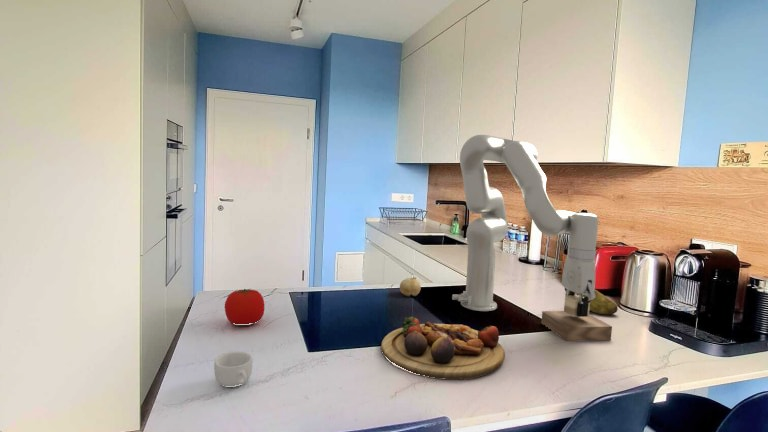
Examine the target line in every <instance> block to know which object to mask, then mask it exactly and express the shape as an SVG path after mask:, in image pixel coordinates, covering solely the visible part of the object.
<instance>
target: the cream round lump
mask: <svg viewBox="0 0 768 432" xmlns="http://www.w3.org/2000/svg"><path fill="white" fill-rule="evenodd" d="M421 287H422V286H421V284H420V282H419V280H417V277H416V276H415V277H414V276H412V277H410V278H409V277H408V278H405V279H403V280H402V281H401V282H400V284H399V291H400V293H401V295H403V296H406V297H411V296H413V297H416V296H418V294H420V291H421V289H422V288H421Z"/></svg>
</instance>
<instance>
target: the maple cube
mask: <svg viewBox="0 0 768 432" xmlns="http://www.w3.org/2000/svg"><path fill="white" fill-rule="evenodd" d="M583 298H584V297H583ZM578 303H579V295H572V296H565V295H564V304H563V305H564V306H563V311H564V312H566V313H568V314H569V315H571V316H573V317H578V316H577V305H578ZM589 309H590V304H588V315H587V316H585V317H589V314H590V310H589Z"/></svg>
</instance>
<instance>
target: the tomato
mask: <svg viewBox="0 0 768 432" xmlns="http://www.w3.org/2000/svg"><path fill="white" fill-rule="evenodd" d="M224 301H225V302H224V313H225V317H226V318H227V319H226V320H228V321H230V322H231V323H230V322H229V323H230V324H232V323H235V324H249V323H255V322H257V321H258V322H260V321H261V320H260V319H262V318H263V316H264V314H265V300H264V298H263V294H262V293H261V292H259V291H258V290H255V289H251V288H248V289H246V288H244V289H237V290H234V291H232V292H231V293H230V294H229V295H228V296H227V298H226V300H224ZM259 320H260V321H259ZM258 322H257V323H258ZM255 324H256V323H255Z"/></svg>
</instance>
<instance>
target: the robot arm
mask: <svg viewBox="0 0 768 432" xmlns="http://www.w3.org/2000/svg"><path fill="white" fill-rule="evenodd" d="M537 159H538V151H537V149H536V147H535V146H534V145H533V144H531V143H529V142H525V141H520V140H513V139H508V138H504V137H503V138H502V137H498V136H492V135H489V134H477V135H473V136H471V137H469V138H468V139H467V140H466V141H465V143H464V144H463V145H462V147H461V149H460V153H459V163H460V164H459V165H460V170H461V174H462V175H461V176H462V181H463V182H462V183H463V189H464V196H465V203H466V208H467V209H468V210H469V212H471V213H472V214H475V215H477V214H479V215H481V217H477V218H475V219H474V220H472V221H471V222H470V223H469V224H468V226H467V229H466V243H467V260H466V261H467V266H466V281H465V282H466V284H465V290H463V291H462V293H460V294H452V296H451V299H452V300H453V301H458V302H460V305H461V306H462V307H464V308H466V309H468V310H471V311H479V312H489V311H490V312H491V311H495V310H496V309H498V304H497V302H496V301H494V287H495V271H496V251H495V243H498V242H501V241H503V240H504V239H505V238H506V236H507V234H508V230H509V227H508V225H509V224H508V219H507V213H506V212H507V211H506V206H505V199H504V197H503V195H502V193H501V191H500V190H499V189H497V188H495V187H493V186H490V183H489V178H488V172H487V169H486V167H485V165H484V161H491V162H497V163H502V164H505V166H506V167H507V169H508V171H509V172H510V173H511V176H512V177H513V179H514V180H515V181H516V184H517V185H518V187H519V189H520V190H521V195H522V199H523V203H524V207H525V208H526V211H527V212H528V213H527V214H528V216H529V217H530V218H531V220H532V221H533V223H534V225H535V226H536V228H537V229H538V230H539V231H540V232H541V234H543V235H545V236H549V237H554V236H558V235H559V236H560V235H564V234H568V244H567V255H566V258H565V260H564V263H563V269H562V275H561V286H562V288H564V292H565V294H564V297H565V296H572V295H576V293H577V294H579V303H578V305H577V316H578V317H585V316H587V315H588V304H590V301H591V300H592V299H594V298H595V297H596V296H595V293H594V289H595V288H596V287H595V286H596V250H597V237H598V228H599V216H597V214H594V213H588V212H573V211H568V210H565V209H564V210H563V209H555V207H554V205H553V204H552V201H550V199H549V196H548V194H547V191H546V190H547V189H546V185H547V176H546V173H544V171H543V170H542V168H541V167H540V165H539V163H538V162H537ZM584 292H586V293H584ZM583 295H585V297H584V298H583Z"/></svg>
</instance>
